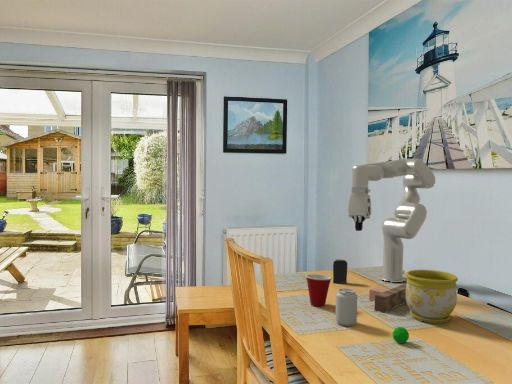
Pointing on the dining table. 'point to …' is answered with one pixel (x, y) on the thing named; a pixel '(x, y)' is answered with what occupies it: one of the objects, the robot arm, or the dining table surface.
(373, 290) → the terracotta block
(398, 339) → the green ball
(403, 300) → the brown blocky bar
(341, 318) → the can
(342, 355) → the dining table surface
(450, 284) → the flowerpot
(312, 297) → the plastic cup
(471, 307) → the dining table surface
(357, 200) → the robot arm
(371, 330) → the dining table surface
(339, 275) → the battery charger
